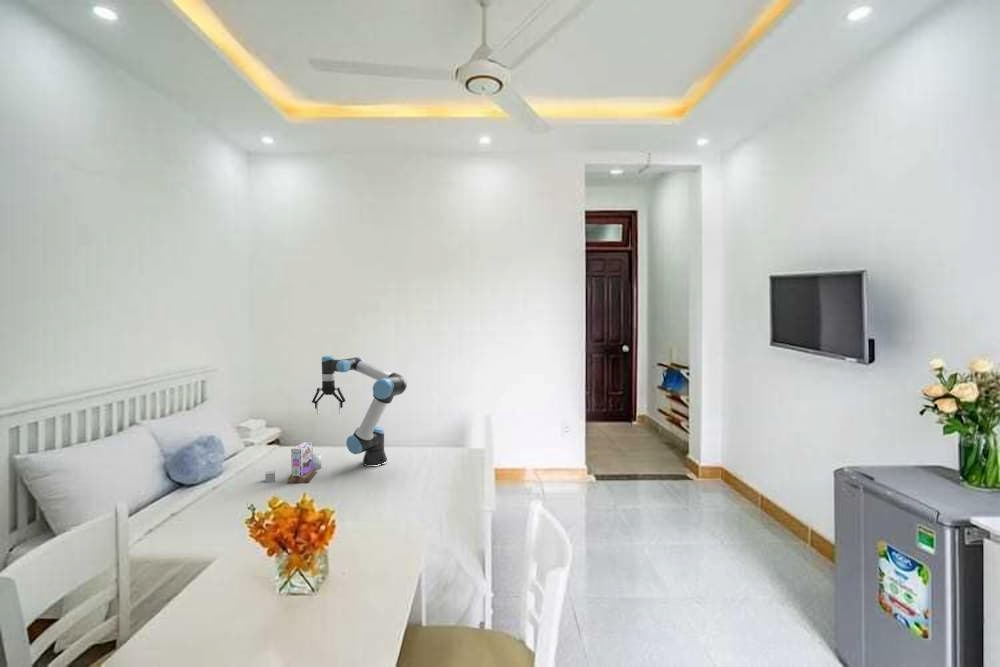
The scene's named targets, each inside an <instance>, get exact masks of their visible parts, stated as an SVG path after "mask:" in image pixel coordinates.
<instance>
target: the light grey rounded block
mask: <svg viewBox="0 0 1000 667" xmlns="http://www.w3.org/2000/svg"><path fill="white" fill-rule="evenodd" d="M313 468H316V471H318V470H321V469H322V454H320V453H313Z"/></svg>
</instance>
